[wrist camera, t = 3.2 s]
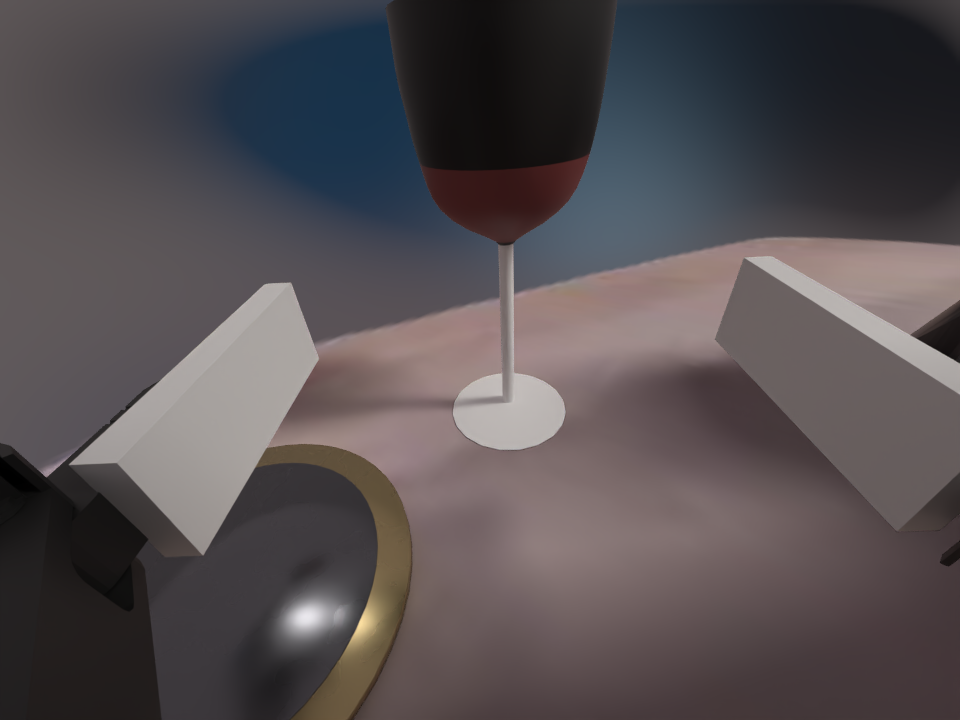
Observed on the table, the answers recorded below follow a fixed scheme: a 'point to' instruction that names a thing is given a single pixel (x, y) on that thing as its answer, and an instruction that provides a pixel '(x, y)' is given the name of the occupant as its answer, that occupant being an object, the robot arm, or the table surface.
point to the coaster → (284, 594)
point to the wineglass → (503, 150)
